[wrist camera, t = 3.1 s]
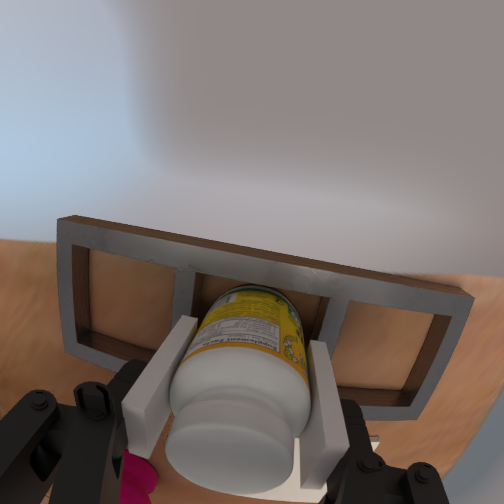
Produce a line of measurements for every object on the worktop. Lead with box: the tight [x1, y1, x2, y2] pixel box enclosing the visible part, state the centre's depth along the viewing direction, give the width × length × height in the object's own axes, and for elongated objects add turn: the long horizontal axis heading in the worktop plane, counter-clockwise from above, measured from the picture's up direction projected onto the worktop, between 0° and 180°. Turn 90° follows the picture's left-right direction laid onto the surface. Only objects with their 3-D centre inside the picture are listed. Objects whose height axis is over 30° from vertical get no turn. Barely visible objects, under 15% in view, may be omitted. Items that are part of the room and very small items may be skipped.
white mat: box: [232, 436, 380, 503], centre depth 19 cm, size 10×10×1 cm
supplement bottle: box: [165, 285, 311, 494], centre depth 12 cm, size 5×5×10 cm
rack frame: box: [57, 215, 475, 421], centre depth 16 cm, size 24×9×2 cm, turn 80°
